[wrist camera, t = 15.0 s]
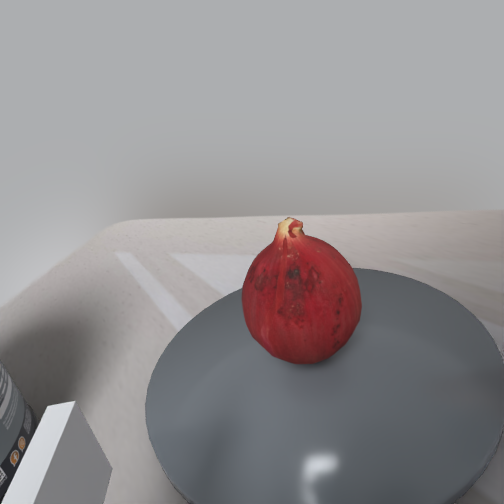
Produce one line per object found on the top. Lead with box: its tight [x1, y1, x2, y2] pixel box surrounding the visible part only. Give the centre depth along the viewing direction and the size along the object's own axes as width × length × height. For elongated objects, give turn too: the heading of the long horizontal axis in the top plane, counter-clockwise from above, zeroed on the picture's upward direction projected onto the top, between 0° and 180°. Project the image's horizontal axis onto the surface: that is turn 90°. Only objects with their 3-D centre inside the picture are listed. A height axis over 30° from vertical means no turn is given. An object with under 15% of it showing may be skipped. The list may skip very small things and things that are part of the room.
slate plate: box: [145, 268, 504, 504], centre depth 24 cm, size 18×18×1 cm
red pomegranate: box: [241, 217, 362, 364], centre depth 22 cm, size 6×6×8 cm
